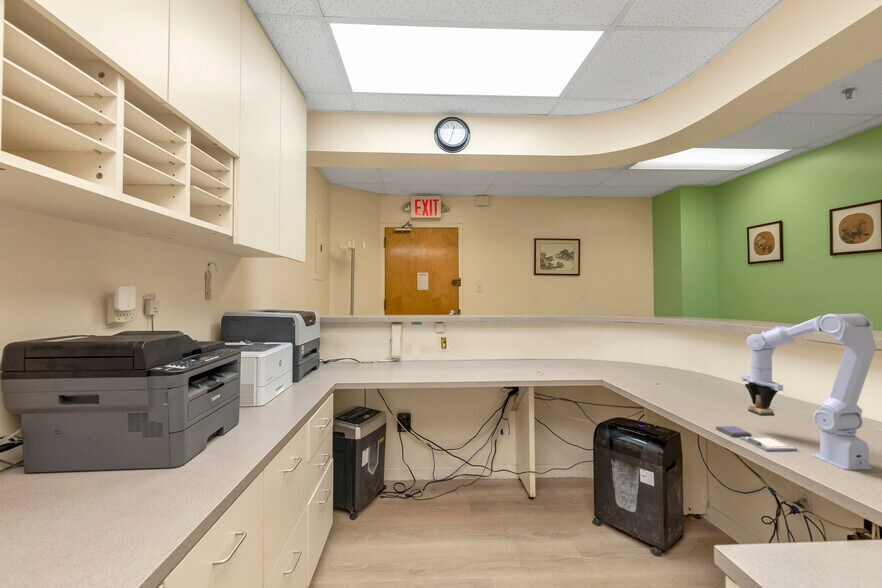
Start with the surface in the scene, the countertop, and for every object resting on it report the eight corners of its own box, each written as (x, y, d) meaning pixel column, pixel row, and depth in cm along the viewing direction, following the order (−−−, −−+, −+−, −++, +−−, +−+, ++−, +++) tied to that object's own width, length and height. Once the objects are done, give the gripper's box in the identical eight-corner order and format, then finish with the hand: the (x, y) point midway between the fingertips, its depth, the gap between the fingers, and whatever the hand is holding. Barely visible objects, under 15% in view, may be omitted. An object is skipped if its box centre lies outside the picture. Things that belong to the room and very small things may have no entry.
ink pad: (751, 436, 127) (751, 433, 127) (731, 436, 127) (731, 433, 127) (734, 429, 134) (734, 425, 134) (716, 429, 134) (716, 426, 134)
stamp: (774, 415, 129) (774, 397, 128) (760, 415, 128) (760, 397, 128) (761, 410, 134) (761, 393, 133) (748, 411, 133) (748, 393, 133)
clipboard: (797, 450, 116) (797, 446, 116) (766, 451, 116) (766, 446, 116) (768, 438, 126) (768, 434, 126) (739, 438, 126) (739, 434, 126)
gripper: (733, 363, 138) (733, 399, 138) (769, 372, 123) (768, 412, 124) (751, 363, 138) (751, 399, 138) (789, 372, 124) (789, 412, 124)
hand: (761, 405), depth 131 cm, fingers closed on stamp, 3 cm apart
